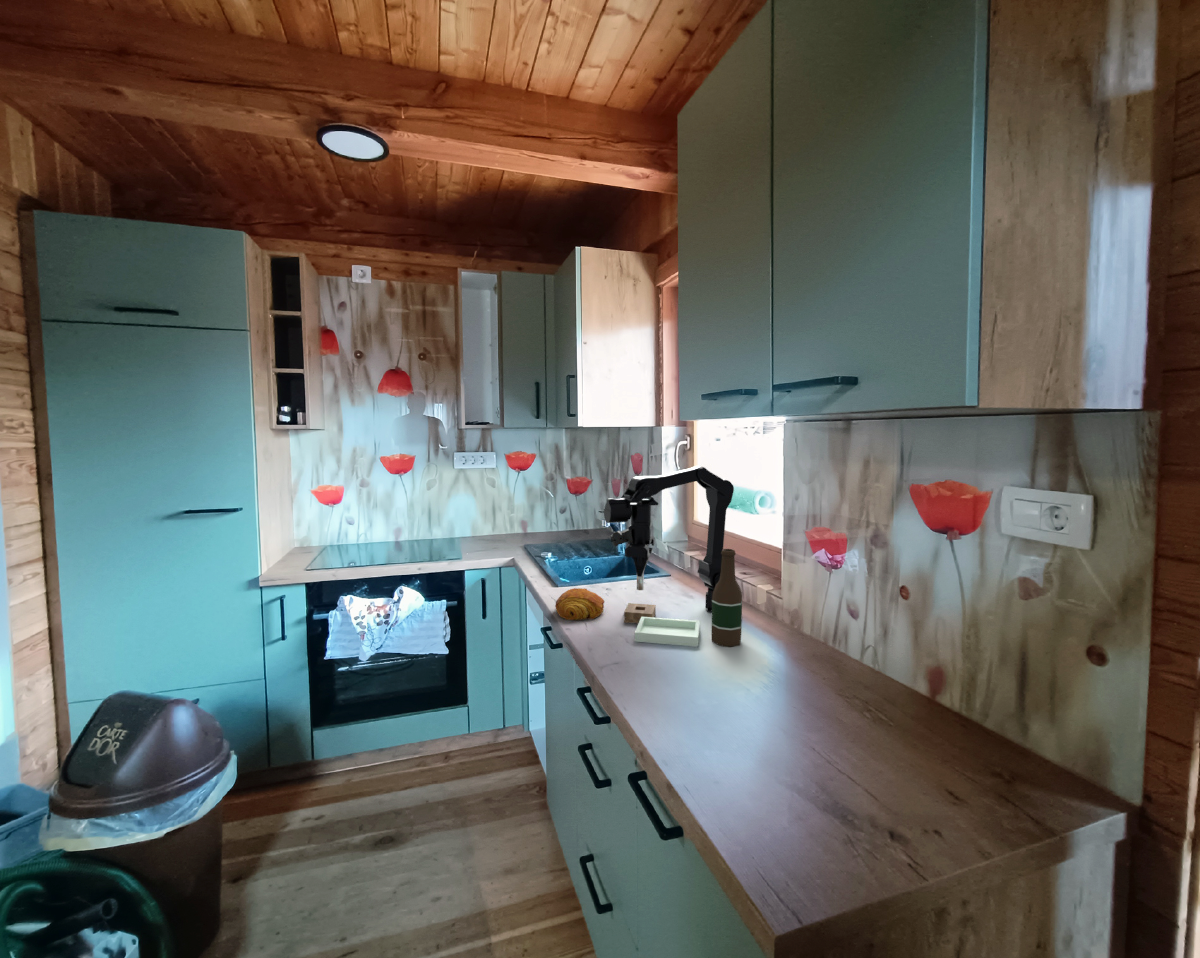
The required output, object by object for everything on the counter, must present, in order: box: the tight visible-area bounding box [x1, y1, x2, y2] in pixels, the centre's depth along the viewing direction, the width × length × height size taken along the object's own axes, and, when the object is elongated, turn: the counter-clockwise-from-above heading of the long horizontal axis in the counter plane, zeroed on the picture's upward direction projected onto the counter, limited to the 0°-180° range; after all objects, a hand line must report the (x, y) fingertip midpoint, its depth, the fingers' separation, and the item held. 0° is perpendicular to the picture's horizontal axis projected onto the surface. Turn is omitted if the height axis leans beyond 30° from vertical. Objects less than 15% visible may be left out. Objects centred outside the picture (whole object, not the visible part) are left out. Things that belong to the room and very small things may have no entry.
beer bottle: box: [710, 548, 743, 648], centre depth 137 cm, size 8×8×24 cm
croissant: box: [554, 587, 605, 621], centre depth 159 cm, size 14×16×8 cm
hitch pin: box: [633, 562, 645, 591], centre depth 154 cm, size 3×3×8 cm
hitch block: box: [623, 602, 657, 624], centre depth 155 cm, size 8×8×3 cm
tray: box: [634, 617, 701, 648], centre depth 142 cm, size 16×12×2 cm
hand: (640, 574), depth 154 cm, fingers closed on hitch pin, 3 cm apart
